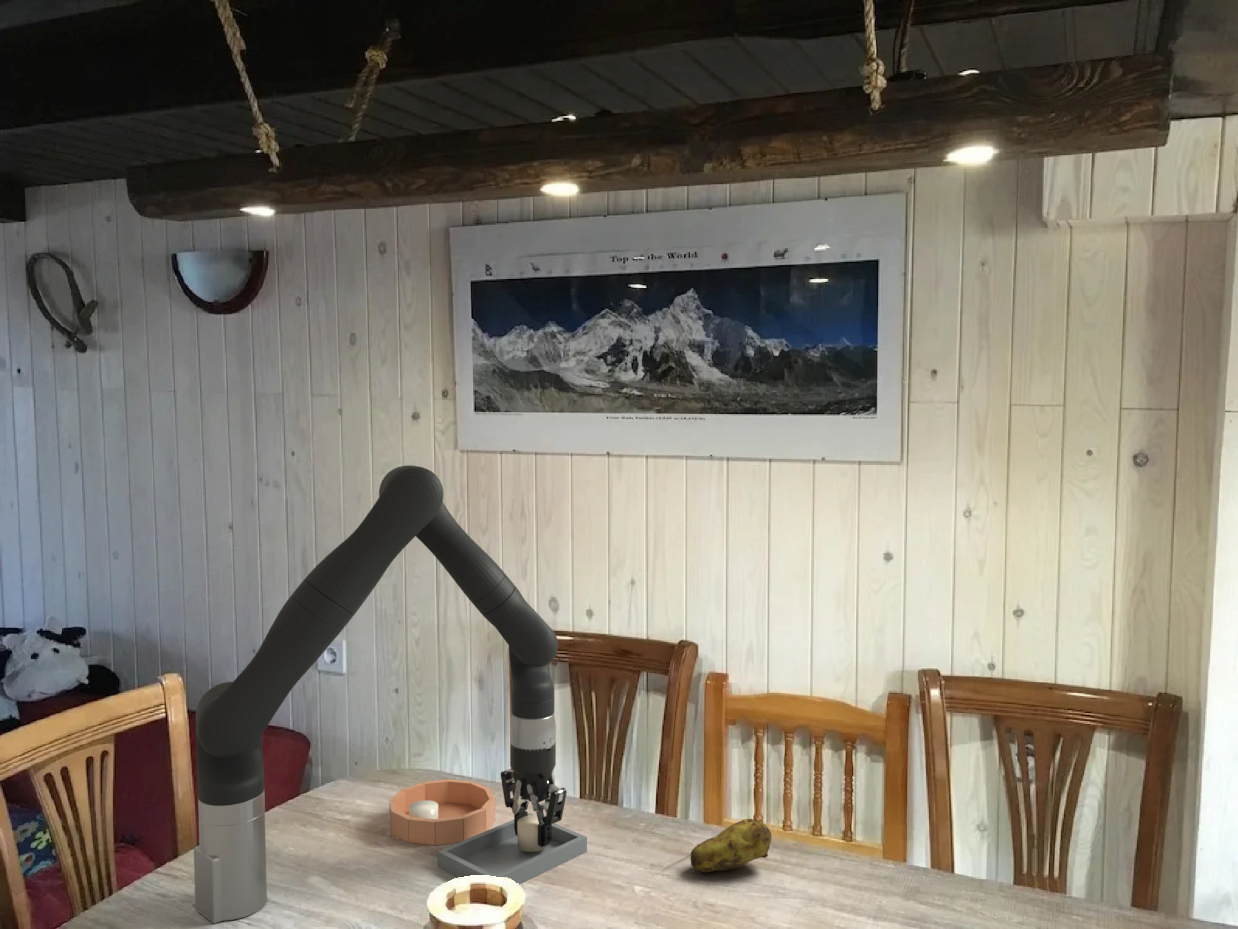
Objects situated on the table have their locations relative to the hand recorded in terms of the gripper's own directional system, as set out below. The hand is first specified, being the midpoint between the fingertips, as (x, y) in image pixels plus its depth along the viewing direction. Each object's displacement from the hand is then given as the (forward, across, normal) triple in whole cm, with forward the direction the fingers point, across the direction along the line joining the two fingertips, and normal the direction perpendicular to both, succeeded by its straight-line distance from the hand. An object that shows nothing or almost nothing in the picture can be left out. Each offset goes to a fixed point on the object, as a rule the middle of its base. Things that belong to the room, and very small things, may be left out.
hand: (532, 839), depth 165 cm
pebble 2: (+1, 0, 0) cm, 1 cm away
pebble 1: (+2, -20, -7) cm, 21 cm away
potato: (+3, +27, +18) cm, 33 cm away
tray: (+3, 0, -4) cm, 5 cm away
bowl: (+3, -20, -3) cm, 20 cm away
